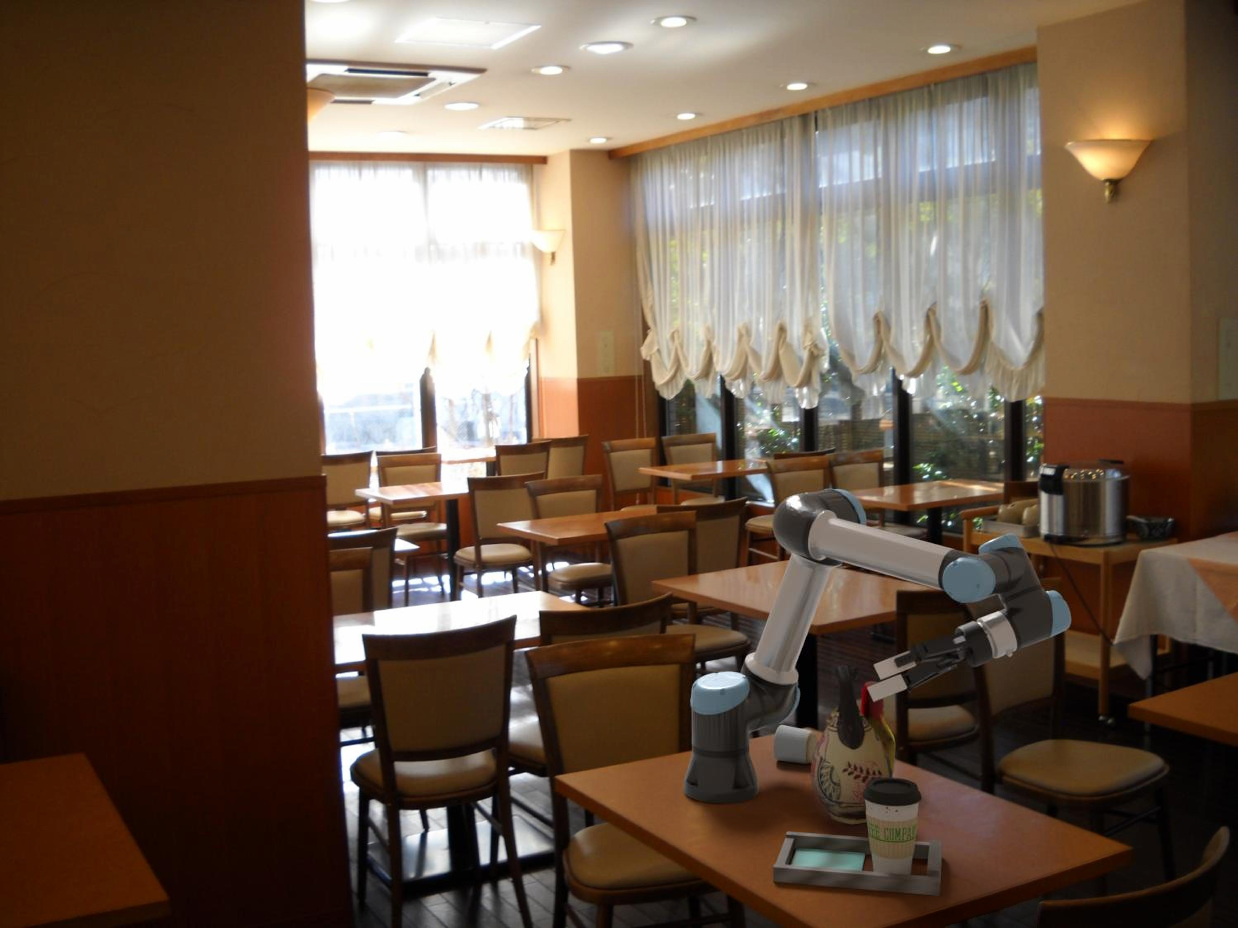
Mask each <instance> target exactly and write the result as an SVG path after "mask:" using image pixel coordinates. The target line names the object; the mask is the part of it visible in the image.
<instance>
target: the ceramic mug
mask: <svg viewBox="0 0 1238 928" xmlns="http://www.w3.org/2000/svg"><path fill="white" fill-rule="evenodd" d="M817 743H818V736H817V734H816V733H815V732H814V731H812V730H809V729H806V728H799V727H794V726H789V725H784V724H781V725H779V726H778V727H777V728H776V731H775V734H774V739H773V747H772V748H773V756H774V759H775V760H776V761H780V762H787V763H794V764H795V763H797V764H802V765H803V764H806V765H808V764H812V757H813V754H814V752H815V748H816V746H817Z"/></svg>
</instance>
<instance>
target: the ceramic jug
mask: <svg viewBox="0 0 1238 928" xmlns="http://www.w3.org/2000/svg"><path fill="white" fill-rule="evenodd" d="M834 675H835V677H836V680H837V681H838V689H839V691H838V694H839V701H838V706H837V710H836V711H835V713H834V715H833V717H832V718H831V720H830V721H829V722H828V724H827V725H826V727H825V729H824V731H823V733H822V734H821V737H820V738H819V739H818V740H817V746H816V748H815V752H814V754H813V757H812V762H811V763H810V764H811V766H810V772H809V773H810V781H811V786H812V789H813V792H814V794H815V795H816V796H817V799H819V801H820V802H821V803H822V804H823V806H824V807H825V808H826V810H827V811H828V813H829V815H830V818H831V819H832V820H835V821H837V822H839V823H843V824H848V825H858V824H867V818H866V802H865V799H864V798H863V796H862V794H863V790H864V789H865V788H866V784H867V782H868V781H870V780H872V779H876V778H886V777H891V778H893V775H892V768H891V764H890V760H889V757H888V754H887V752H886V749H885V747H884V745H883V743H882V742H881V740H880V738H879V737H878V735H877V734H876V732H875V731H874V729H873V728H872V727H871V726H870V724H869V723H868V721H867V720H866V719H865V717H864V716H863V715H862V714H861V712H860V708H859V705H858V702H857V699H856V698H857V696H856V686H855V681H856V680H857V679H858V677H859V676H860V669H859V667H857V666H850V665H846V664H841V665H839V666H836V668H835V669H834ZM859 834H861V833H860V832H859Z"/></svg>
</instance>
